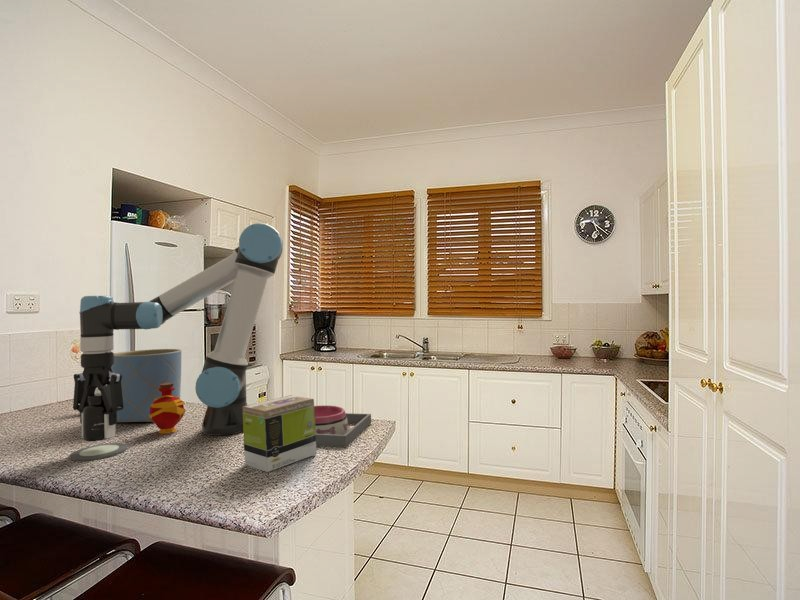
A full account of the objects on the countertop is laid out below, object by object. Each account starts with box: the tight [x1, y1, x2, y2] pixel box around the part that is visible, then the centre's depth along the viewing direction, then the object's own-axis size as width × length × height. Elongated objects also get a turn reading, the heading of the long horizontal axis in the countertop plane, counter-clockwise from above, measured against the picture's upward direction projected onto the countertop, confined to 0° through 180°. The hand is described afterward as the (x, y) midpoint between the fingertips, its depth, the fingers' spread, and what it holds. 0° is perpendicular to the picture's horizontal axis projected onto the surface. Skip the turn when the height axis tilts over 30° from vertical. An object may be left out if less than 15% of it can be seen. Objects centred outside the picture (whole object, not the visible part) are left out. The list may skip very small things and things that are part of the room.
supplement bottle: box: [82, 393, 112, 442], centre depth 122 cm, size 7×7×12 cm
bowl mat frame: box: [316, 412, 372, 448], centre depth 136 cm, size 24×24×3 cm
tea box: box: [242, 395, 318, 473], centre depth 113 cm, size 15×10×15 cm, turn 141°
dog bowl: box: [314, 404, 351, 435], centre depth 136 cm, size 18×19×7 cm
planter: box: [111, 348, 182, 423], centre depth 161 cm, size 23×23×24 cm
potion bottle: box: [149, 383, 186, 435], centre depth 142 cm, size 10×10×15 cm
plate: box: [69, 442, 128, 462], centre depth 122 cm, size 13×13×1 cm
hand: (98, 436), depth 122 cm, fingers closed on supplement bottle, 7 cm apart
